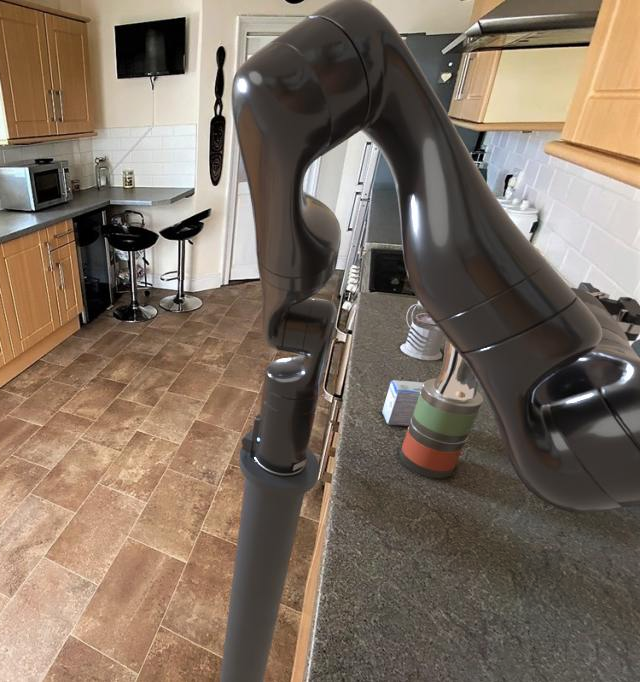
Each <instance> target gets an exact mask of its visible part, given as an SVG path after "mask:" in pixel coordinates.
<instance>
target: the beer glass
mask: <svg viewBox="0 0 640 682" xmlns="http://www.w3.org/2000/svg"><path fill="white" fill-rule="evenodd" d="M445 338H446V337H445ZM443 350H444V352H443V358H442V359H443V360H442V366H441V369H440V372H439V374H438V375H437V377H436V378H437V379H436V380H435V382H434V383H433V386H432V387H433V390H434V391H435V392H436V393H437V394H439V395H440V396H442V397H444V398H447V399H449V400H453V401H457V402H470V401H473V400H474V399H475V398H476V395H477V391H478V387H479V383H478V381H477V379H476V377H475V376H474V374H473V373H472V371H471V369H470V368H469V366H468V365H467V364H466V362H465V361H464V360H463V358H462V357H461V356H460V354H459V353H458V351H457V350H456V349H455V348H454V347H453V345H452V344H451V343H450V342H449V340H448V339H447V338H446V339H445V343H444V349H443Z"/></svg>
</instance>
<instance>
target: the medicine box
mask: <svg viewBox="0 0 640 682" xmlns="http://www.w3.org/2000/svg"><path fill="white" fill-rule="evenodd" d="M423 384H424V382H420V381H406V380H396V379H395V380H394V379H393V380H391V382H390V384H389V387H388V390H387V395H386V398H385V401H384V405H383V408H382V415H383V417H384V419H385V422H386V424H387V425H393V426H403V427H409V425H410V420H411V418H412V416H413V413H414V409H415V406H416V404H417V401H418V398H419V395H420V392H421V390H422V387H423Z"/></svg>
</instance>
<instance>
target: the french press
mask: <svg viewBox="0 0 640 682" xmlns="http://www.w3.org/2000/svg"><path fill="white" fill-rule="evenodd" d="M413 307H414V308H413ZM420 307H421V308H420ZM412 308H413V309H412ZM416 308H417V309H418V310H424V308H423V307H422V305H421V304H420V302H419V301H418V300H417V303H415V304H412V305H410V307H409V308H408V310H407V312H406V316H405V317H406V323H407V326H408V328H410V329H409V332H408V335H407V338H406V341H405V343H402V344H401V345H400V347H399V348H400V350H401V352H403V353H404V354H405V355H407V356H408V357H411V358H415V359H418V360H423V361H438V360H440V359H443V358H442V357H444V354H443V353H442V352H441V350H440V349H441V347H442V345H443V343H444V342H443V341H444V339H445V335H444V334H443V333H442V332H441V330H440V329H439V328H438V326H437V325H436V324H435V323H434V321H433V320H432V319H431V318H430V316H429V315H428V314H427V312H425V313H424V312H423V313H418V314H416V315H415V316H414V312H415V309H416ZM411 309H412V312H411V325H410V324H409V322H408V317H409V311H410V310H411ZM413 316H414V317H415V318H413ZM416 322H417V324H416ZM434 329H435V330H434Z"/></svg>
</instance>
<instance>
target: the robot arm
mask: <svg viewBox="0 0 640 682" xmlns="http://www.w3.org/2000/svg"><path fill="white" fill-rule="evenodd" d="M230 107H231V116H232V122H233V127H234V132H235V136H236V141H237V145H238V150H239V155H240V158H241V162H242V166H243V171H244V174H245V180H246V184H247V188H248V191H249V197H250V204H251V210H252V219H253V227H254V228H253V229H254V240H255V241H254V242H255V254H256V263H257V265H256V266H257V269H258V271H257V272H258V276H259V277H258V278H259V282H260V289H261V336H262V340H263V342H264V344H265V345H266V346H267V347H268V348H271V349H272V350H276V351H279V352H280V351H281V352H285V353H290V354H296V355H297V356H291V357H284V358H283V357H282V358H279V359H276V360H273V361H272V362H270V363H269V364H268V365H267V366H266V368H265V371H264V377H263V386H262V393H261V400H260V407H259V413H257V415H256V416H255V417H254V420H253V426H252V428H251V429H250V430H249V431H248V432H247V433H246V434H245V436H243V437H242V438H241V441H240V442H241V447H242V445H243V447H242V450H244V451H246V452H248V453H250V457H251V458H253V459H254V460H255V462H256V464H257V465H258V466H259V467H260V468H261V469H262V470H264V471H266V472H267V473H269V474H272V475H275V476H280V477H292V476H295V475H298V474H299V473H301V472H302V471H303V469H304V467H305V464H306V460H307V459H306V455H307V450H308V448H309V445H310V441H311V437H312V436H311V435H312V431H313V426H314V421H315V416H316V411H317V408H318V402H319V397H320V393H321V388H322V382H323V377H324V370H325V367H326V361H327V359H328V355H329V352H330V348H331V344H332V340H333V337H334V333H335V329H336V324H337V318H338V311H337V306H336V304H335V303H334V302H333V301H332V300H329V299H324V298H323V299H322V298H317V297H313V296H315V295H316V294H317V293H319V292H320V291H321V290H323V289H324V288H325V287H326V286H327V285H328V283H329V282H330V281H331V280H332V278H333V276H334V274H335V272H336V269H337V264H338V258H339V254H340V247H341V244H342V243H341V242H342V241H341V240H342V229H341V226H340V222H339V219H338V217H336V214H335V213H334V212H333V211H332V210H331V209H330V208H329V206H328V205H327V204H325V203H324V202H322V201H321V200H320V199H318V198H317V197H316V196H314V195H311V194H309V192H306V191H305V190H304V182H305V177H306V174H307V172H308V170H309V168H310V166H312V164H313V163H314V162H316V161H317V160H318V159H319V158H320V157H323V156H324V155H325V154H327V153H328V152H330V151H332V150H333V149H335V148H336V147H338V146H339V145H341V144H342V143H344V142H345V141H347V140H349V139H351V138H352V137H353V136H355V135H356V134H358V133H359V132H362V133H363V134H364V135H365V136H366V137H367V138H368V139H369V140H370V141H371V143H373V145H374V146H375V147H376V148H377V149H378V151H379V152H380V153H381V154H382V157H383V158H384V160H385V161H386V163H387V165H388V168H389V170H390V172H391V175H392V178H393V181H394V186H395V190H396V191H395V192H396V196H397V203H398V211H399V213H398V214H399V222H400V224H399V225H400V238H401V249H402V257H403V258H402V259H403V263H404V269H405V272H406V277H407V280H408V282H409V285H410V287H411V290H412V292H413V294H414V295H415V297H416V299H417V302H418V301H419V302H420V304H421V305H422V307H421V308H423V310H424V311H425V313H426V314H428V315H429V316H430V318H431V319H432V320H433V321H434V323H435V324H436V325H437V327H438V328H439V329H440V330H441V332H442V333H443V334H444V338H447V339H448V340H449V342H450V343H451V344H452V345H453V347H454V348H455V349H456V350H457V351H458V353H459V354H460V356H461V357H462V358H463V360H464V361H465V362H466V364H467V365H468V366H469V368H470V369H471V371H472V373H473V374H474V376H475V377H476V379H477V381H478V385H479V386H480V388H481V390H482V393H483V394H484V397H485V398H486V401H487V403H488V405H489V407H490V409H491V411H492V414H493V417H494V419H495V421H496V424H497V428H498V430H499V434H500V436H501V440H502V442H503V445H504V448H505V451H506V453H507V457H508V460H509V462H510V463H511V466H512V468H513V470H514V472H515V474H516V476H517V477H518V479H519V481H520V482H521V483H522V484H523V485H524V487H525V488H526V489H528V491H529V492H531V494H532V495H534V496H536V497H537V498H538V499H540V500H541V501H543V502H545V503H546V504H547V505H550V506H552V507H554V508H557V509H559V510H561V511H564V512H567V513H571V514H579V515H583V514H596V513H603V512H608V511H609V512H610V511H614V510H620V509H625V508H630V507H637V506H640V357H639V355H638V354H637V352H636V351H635V350H634V349H633V347H632V346H631V345H630V342H636V341H637V339H638V337H640V336H639V335H640V303H639V302H638V301H637V299H635V298H632V297H630V296H620V297H619V298H618V300H617V299H612V298H610V296H611V294H609V293H606V292H605V291H604V292H603V291H601V290H600V289H599V288H596V287H594V285H592V283H591V282H582V281H581V282H580V283H579V285H578V286H577V288H575V287H571V286H570V285H569V284H567V282H566V281H565V280H564V279H563V277H562V276H561V275H560V274H559V273H558V272H557V271H556V270H555V269H554V268H553V266H552V265H551V264H550V263H549V262H548V260H547V259H546V258H545V257H544V256H543V255H542V254H541V252H540V251H539V250H538V249H537V248H536V247H535V246H534V245H533V243H532V242H530V240H529V239H528V238H527V236H525V235H524V233H523V232H522V231H521V229H520V228H519V227H518V226H517V225H516V223H515V222H514V221H513V220H512V218H511V217H510V216H509V215H508V213H507V211H506V210H505V209H504V207H503V206H502V204H501V203H500V201H499V200H498V199H497V197H496V195H495V194H494V192H493V191H492V189H491V188H490V186H489V184H488V183H487V181H486V180H485V178H484V176H483V175H482V173H481V171H480V169H479V167H478V166H477V164H476V162H475V161H474V159H473V157H472V155H471V153H470V151H469V150H468V148H467V146H466V145H465V143H464V141H463V139H462V137H461V135H460V134H459V132H458V130H457V128H456V126H455V125H454V122H453V121H452V119H451V118H450V116H449V114H448V112H447V111H446V109H445V107H444V105H443V104H442V101H440V99H439V97H438V95H437V94H436V91H434V89H433V86H432V85H431V84H430V82H429V80H428V79H427V77H426V74H425V73H424V71H423V70H422V68H421V66H420V65H419V63H418V61H417V60H416V58H415V56H414V54H413V53H412V51H411V50H410V48H409V47H408V44H407V43H406V42H405V40H404V39H403V37H402V35H401V34H400V33H399V32H398V30H397V28H395V26H394V25H393V24H392V23H391V21H390V20H389V19H388V17H387V15H385V14H384V13H383V12H382V11H381V10H380V9H379V8H378V7H376V6H375V5H374V4H372V3H370V2H369V1H367V0H333V1H331V2H329V3H327V4H325V5H324V6H321V7H320V8H319V9H317V10H316V11H314V12H312V13H311V14H309V15H308V16H307V17H305V18H304V19H302V20H300V21H299V22H298V23H296V24H295V25H294V26H292V27H291V28H288V29H287V30H285V31H284V32H283V33H281V34H280V35H278V36H277V37H276V38H274V39H273V40H271V41H269V42H268V43H267V44H266V45H264V46H263V47H261V48H260V49H258V51H256V52H254V53H253V54H252V55H250V57H249V58H248V59H246V60H245V61H244V62H243V63H242V64H241V65H240V66H239V67H238V69H237V71H236V72H235V74H234V77H233V80H232V85H231V92H230Z"/></svg>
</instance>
